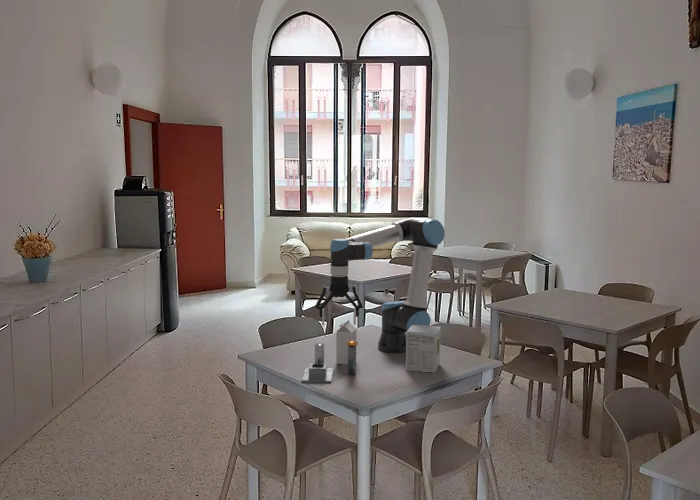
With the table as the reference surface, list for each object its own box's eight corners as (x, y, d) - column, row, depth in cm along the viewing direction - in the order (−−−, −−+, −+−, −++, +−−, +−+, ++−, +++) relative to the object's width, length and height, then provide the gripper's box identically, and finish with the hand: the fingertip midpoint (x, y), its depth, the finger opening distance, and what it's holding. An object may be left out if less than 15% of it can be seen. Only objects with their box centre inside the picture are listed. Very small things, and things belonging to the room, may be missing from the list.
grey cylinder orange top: (357, 372, 268) (357, 340, 266) (357, 376, 263) (357, 343, 262) (346, 372, 268) (346, 340, 266) (346, 375, 264) (346, 343, 262)
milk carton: (356, 361, 284) (356, 320, 281) (351, 365, 277) (351, 323, 275) (341, 359, 286) (341, 318, 284) (336, 364, 279) (336, 322, 277)
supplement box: (435, 373, 267) (436, 333, 265) (405, 370, 271) (405, 331, 269) (440, 364, 280) (441, 326, 278) (411, 361, 284) (412, 324, 282)
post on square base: (333, 370, 270) (333, 343, 269) (331, 383, 255) (331, 354, 253) (306, 370, 271) (305, 343, 269) (301, 382, 255) (301, 353, 253)
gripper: (367, 273, 270) (366, 321, 273) (309, 274, 268) (309, 322, 271) (369, 276, 263) (368, 326, 266) (310, 277, 261) (310, 326, 263)
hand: (338, 324), depth 268 cm, fingers open, 13 cm apart
